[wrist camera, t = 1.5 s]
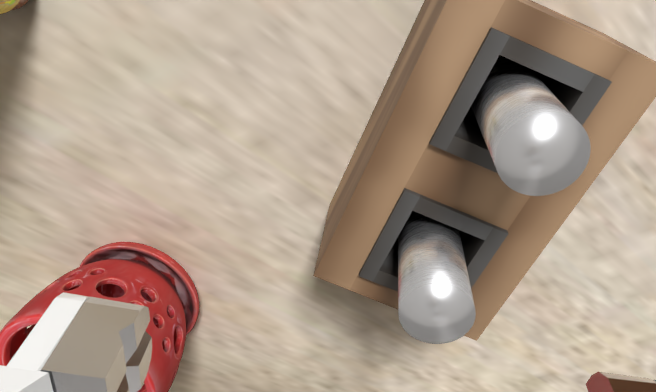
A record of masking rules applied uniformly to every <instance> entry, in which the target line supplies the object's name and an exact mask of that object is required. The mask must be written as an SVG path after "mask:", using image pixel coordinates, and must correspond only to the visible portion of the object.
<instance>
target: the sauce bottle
mask: <svg viewBox="0 0 656 392" xmlns="http://www.w3.org/2000/svg"><path fill="white" fill-rule="evenodd" d="M27 2H28V0H0V14H3V13H6V12H8V11H10V10H14V9H18V8H20V7H22V6H23V5H25V4H26V3H27Z"/></svg>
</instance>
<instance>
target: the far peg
mask: <svg viewBox="0 0 656 392" xmlns="http://www.w3.org/2000/svg"><path fill="white" fill-rule="evenodd" d="M398 313H399V321H400V323H401V325H402V327H403V329H404V330H405V331H406V332H407V333H408V334H409V335H411V336H412V337H414V338H415V339H417V340H420V341H422V342H426V343H432V344H442V343H448V342H452V341H455V340H457V339H459V338H461V337H462V336H464V335H465V334H466V333H467V332H468V331H469V330H470V329H471V327H472V326H473V324H474V321H475V316H476V312H475V306H474V301H473V296H472V291H471V286H470V281H469V276H468V271H467V267H466V262H465V257H464V252H463V247H462V242H461V237H460V232H459V230H458V229H456V228H453V227H451V226H448V225H446V224H444V223H441V222H439V221H436V220H434V219H432V218H429V217H427V216H424V215H422V214H419V213H417V212H415V211H412V212H411V214H410V216H409V218H408V220H407V221H406V223H405V225H404V227H403V229H402V230H401V232H400V234H399V236H398Z"/></svg>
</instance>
